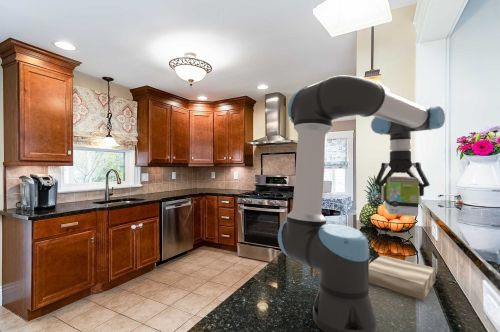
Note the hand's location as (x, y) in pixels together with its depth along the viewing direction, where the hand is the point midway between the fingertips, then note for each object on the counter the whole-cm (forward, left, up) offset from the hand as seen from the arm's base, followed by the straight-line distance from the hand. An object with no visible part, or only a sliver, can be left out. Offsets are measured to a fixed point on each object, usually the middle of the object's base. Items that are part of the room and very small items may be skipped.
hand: (400, 202), depth 101 cm
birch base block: (-20, -5, -25) cm, 32 cm away
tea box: (0, 0, -4) cm, 4 cm away
